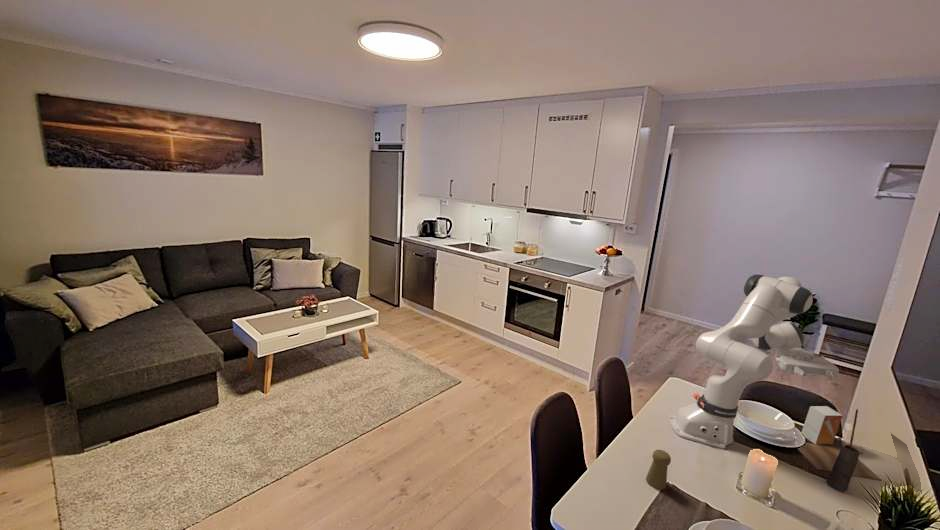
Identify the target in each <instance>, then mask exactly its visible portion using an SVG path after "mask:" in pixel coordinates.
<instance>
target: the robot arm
mask: <svg viewBox="0 0 940 530" xmlns="http://www.w3.org/2000/svg"><path fill="white" fill-rule="evenodd" d="M743 293H744V295H745V297H746V298H745V299H744V300H743V302H742V304H741V305H740V307H739V309H738V310H737V312H736V313H735V315H734V316H733V317H732V319H731V320H730V321H729V322H728V323H726V324H725V325H723V326H722V327H720V328H718V329H716V330H712V331H706V332H704V333H701V334H700V335H699V336H698V338H697V339H696V341H695V342H696V343H695V349H696V352H697V354H698V355H700V356H702V358H704V359H706V360H707V361H710V362H712V363H714V364H716V365H718V366H721V367H723V368H725V369H726V373H716V374H713V375H710V376H709V378H708V379H707V380H706V381H707V382H706V385H705V390H704V393H703V394H702V395H701V396H700V395H699V393H697V392H694V393H693V395H692V397H693V398H694V400H696V402H694V403H690V404H688V405H685V406H681V407H680V408H679V409H678V410H677V412H676V414H670V415H669V416H668V423H669V425H670V427H671V429H672V430H673V431H674V433H676V434H677V435H678V436H679V437H680V438H683V439H686V440H688V441H694V442H697V443H702V444H705V445H707V446H708V445H709V446H712V447H716V448H719V449H726V448H727V446H728V445H731V444H732V443H733V442H734V433H733V432H734V423H735V419H736V417H737V415H738V410H739V405H738V404H739V401H740V398H741V395H742V393H743V391H744V389H745V388H746V387H747V386H748V385H749V384H751V383H754V382H759V381H763V380H766V379H767V378H769V377H770V376H771V374H772V373H773V370H774V362H773V359H772V358H771V356H770V355H768V354H767V353H764V352H766V351H770V350H772V349H774V350H775V352H776V353H777V354H778V355H779V356H775V357H774V360H775V361H776V362H777V364H778V366H779V367H780V369H781V370H783V371H786V372H793V373H795V374H799V375H800V376H801V377H807V375H808V374H810V375H814V376H815V375H818V376H825V378H826V379H828V380H830V381H833V380H834V378H837V377H838V375H839V373H840V372H839V371H840V370H839V367H837V366H836V365H835V364H834V363H832V362H831V361H829V360H828V359H826V357H825V356H824V355H821V354H818V353H813V352H811V351H808V350H805V349H804V348H803V344H804V340H805V339H804V338H805V337H804V333H803V332H802V330H801V328H799V327H798V326H797V325H796V324H794V323H793V322H790V321H787V322H782V321H786V320H788V319H791V318H794V317H795V316H797V315H801V314H805V313H806V312H807V311H808V310H809V309H810V308H811V306H812V305H813V298H814V294H813V293H812V291H811V290H810V289H808V288H806V287H804V286H803V285H802V284H801V281H800V280H799V279H797V278H795V277H792V276H780V277H778V278H775V277H770V276H765V275H764V274H752V275H750V276H749V277H748V279H747V280H745V283H744V286H743ZM780 322H782V323H780ZM777 323H778V324H777ZM750 339H751V341H752V343H753V346H754V347H753V346H751V345H748V344H746V343H744V342H743V341H746V340H750ZM763 351H764V352H763Z"/></svg>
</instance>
